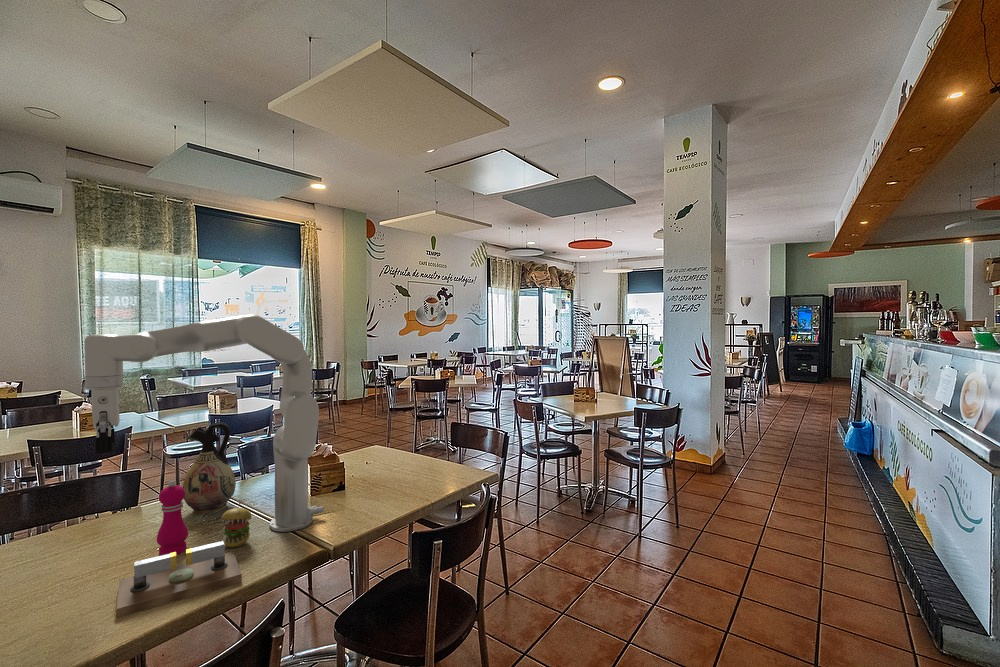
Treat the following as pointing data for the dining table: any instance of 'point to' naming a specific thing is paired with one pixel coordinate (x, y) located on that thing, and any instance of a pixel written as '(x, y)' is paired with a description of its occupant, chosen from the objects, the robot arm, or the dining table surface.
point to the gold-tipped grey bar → (206, 554)
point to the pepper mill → (172, 521)
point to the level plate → (176, 584)
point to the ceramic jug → (209, 473)
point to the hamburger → (236, 526)
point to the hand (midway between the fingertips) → (105, 448)
